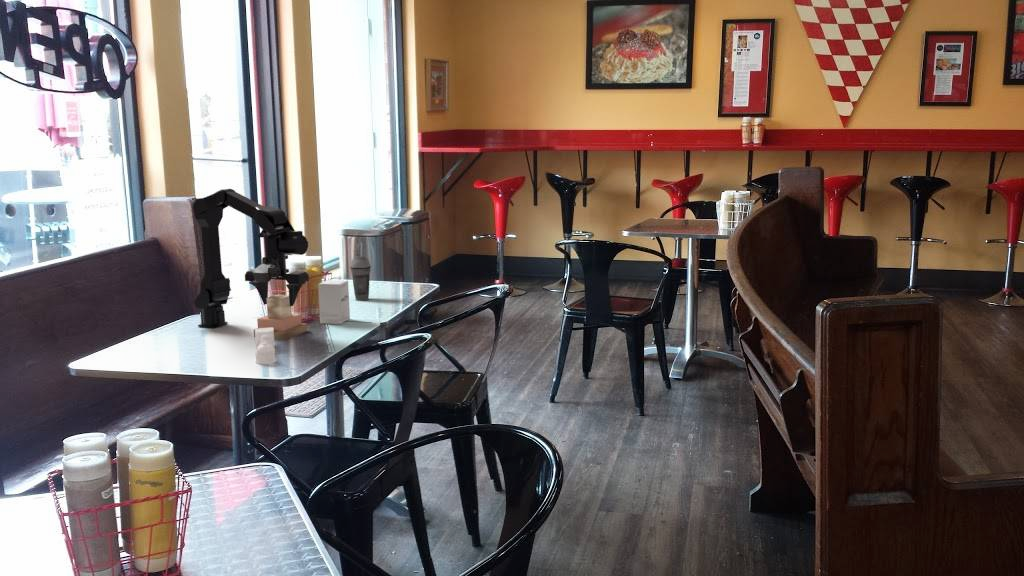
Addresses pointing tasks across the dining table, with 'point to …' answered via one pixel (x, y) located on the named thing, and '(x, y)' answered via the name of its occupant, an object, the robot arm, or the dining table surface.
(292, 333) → the walnut base slab
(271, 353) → the container set
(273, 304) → the birch cube
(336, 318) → the supplement box
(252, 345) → the dining table surface
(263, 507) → the dining table surface
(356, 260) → the beverage cup
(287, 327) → the terracotta top slab
